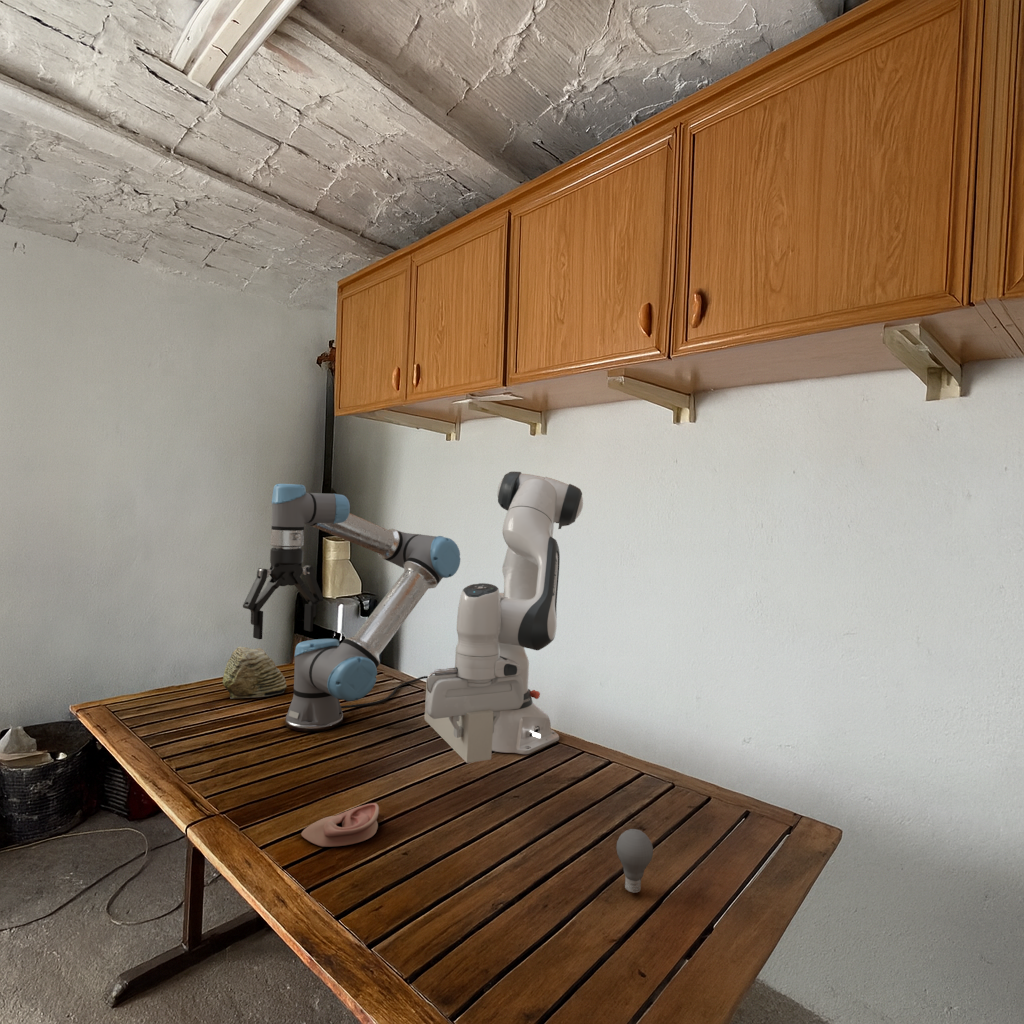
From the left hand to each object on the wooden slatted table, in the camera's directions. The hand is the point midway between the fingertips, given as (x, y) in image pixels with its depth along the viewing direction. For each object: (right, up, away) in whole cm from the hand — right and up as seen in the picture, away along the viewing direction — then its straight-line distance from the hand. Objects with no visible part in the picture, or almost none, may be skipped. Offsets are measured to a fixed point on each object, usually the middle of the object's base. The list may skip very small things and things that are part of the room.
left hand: (283, 634), depth 154 cm
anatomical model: (+23, -31, -34) cm, 52 cm away
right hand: (+48, -15, -27) cm, 57 cm away
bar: (+43, -19, -19) cm, 51 cm away
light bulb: (+76, -34, -49) cm, 96 cm away
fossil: (-25, -27, +44) cm, 57 cm away
